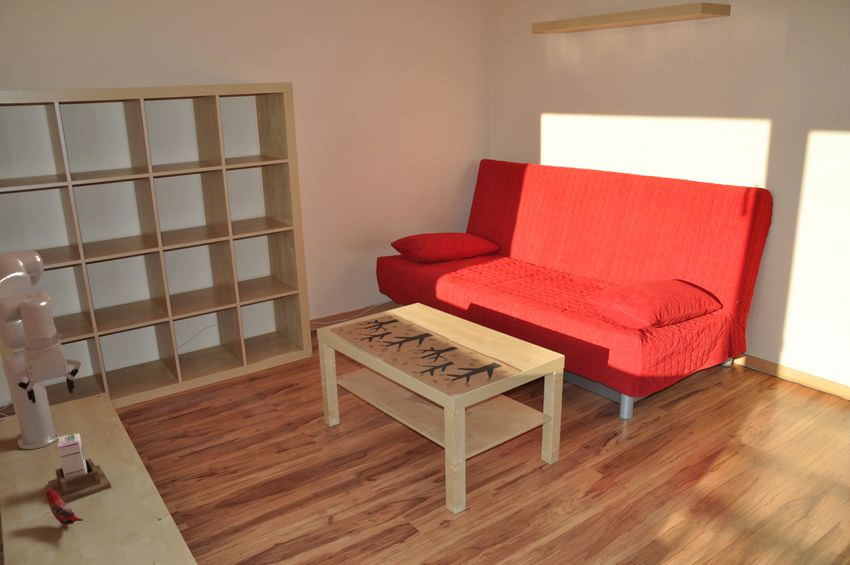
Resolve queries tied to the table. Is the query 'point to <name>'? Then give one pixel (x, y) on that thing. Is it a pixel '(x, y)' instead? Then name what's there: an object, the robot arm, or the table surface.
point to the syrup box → (71, 456)
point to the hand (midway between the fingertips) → (52, 396)
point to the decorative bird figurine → (60, 509)
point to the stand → (80, 483)
